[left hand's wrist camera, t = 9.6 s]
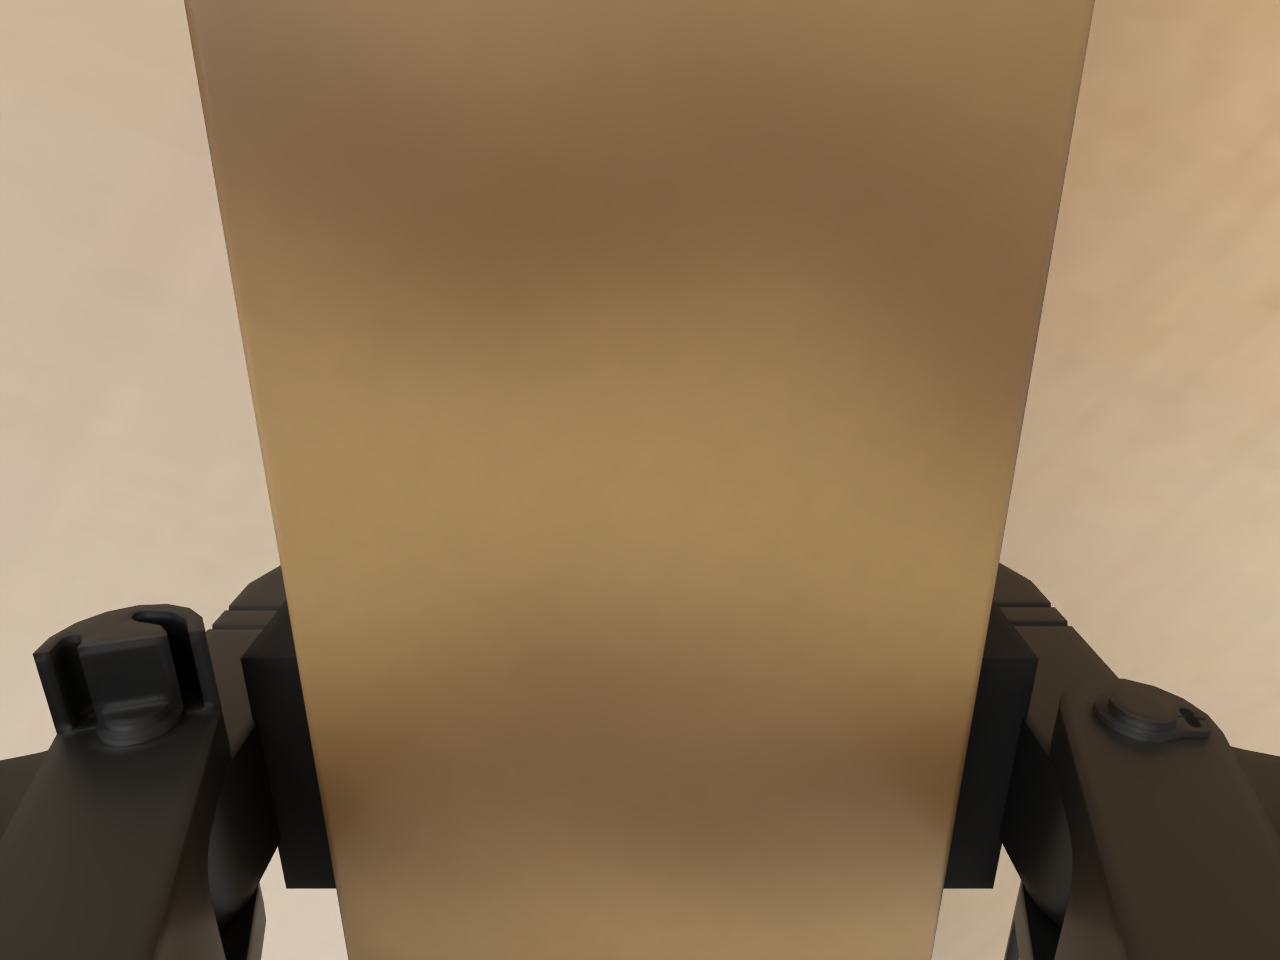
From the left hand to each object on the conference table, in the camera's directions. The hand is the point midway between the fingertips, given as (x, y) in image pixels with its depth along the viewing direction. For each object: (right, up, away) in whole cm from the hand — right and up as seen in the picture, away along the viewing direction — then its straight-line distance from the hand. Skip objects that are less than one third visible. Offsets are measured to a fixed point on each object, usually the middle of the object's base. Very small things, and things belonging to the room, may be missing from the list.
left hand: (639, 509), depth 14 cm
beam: (0, +30, -11) cm, 32 cm away
